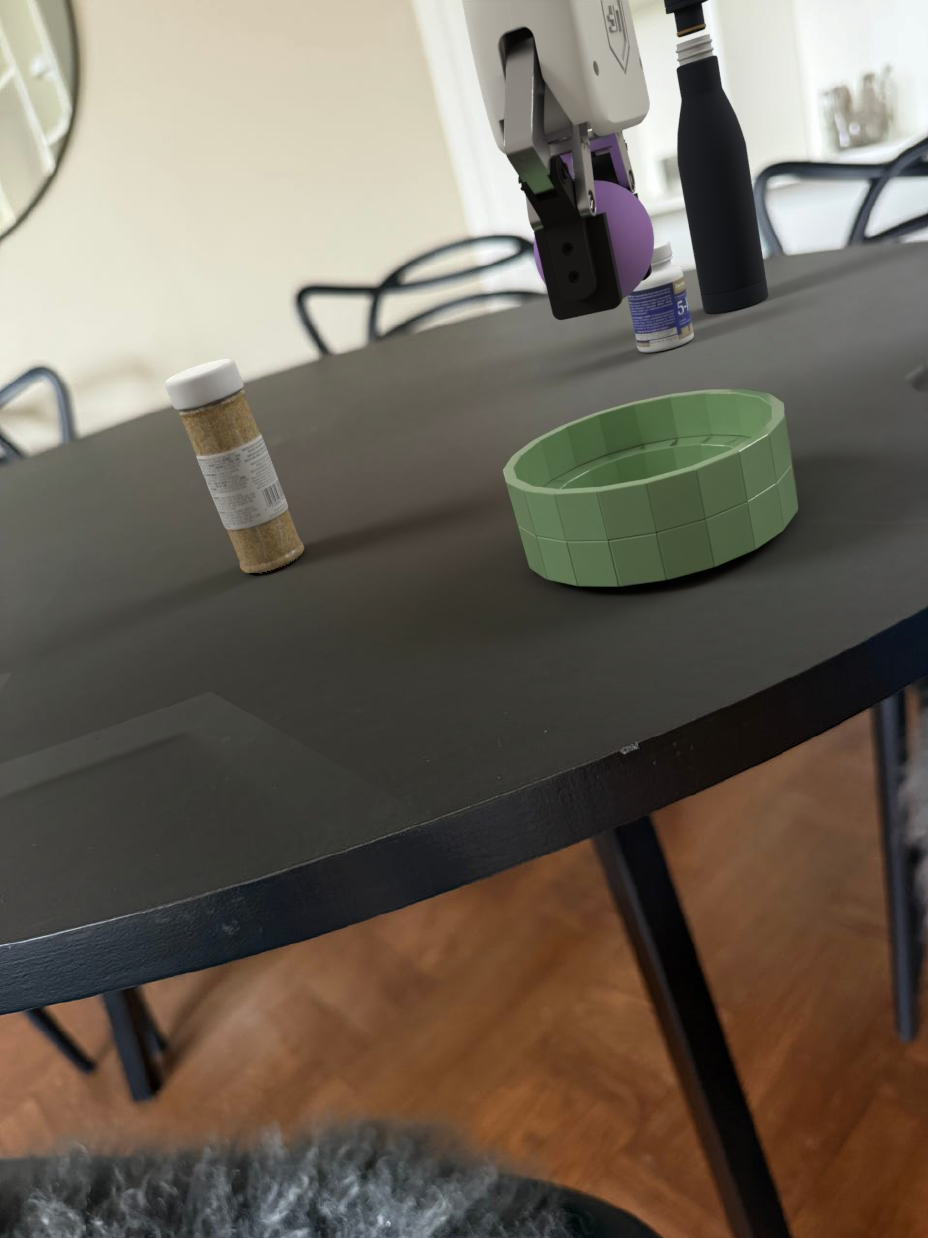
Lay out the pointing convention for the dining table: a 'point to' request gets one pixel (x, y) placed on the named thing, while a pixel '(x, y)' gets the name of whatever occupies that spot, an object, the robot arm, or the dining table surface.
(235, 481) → the spice jar
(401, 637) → the dining table surface
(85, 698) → the dining table surface
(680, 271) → the pill bottle
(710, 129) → the black water bottle
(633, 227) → the ball
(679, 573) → the bowl
